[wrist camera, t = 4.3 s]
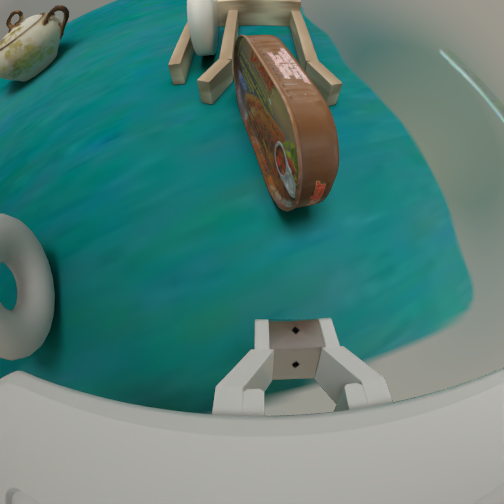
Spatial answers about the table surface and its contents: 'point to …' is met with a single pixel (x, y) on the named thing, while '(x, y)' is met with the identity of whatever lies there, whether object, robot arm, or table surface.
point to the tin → (285, 122)
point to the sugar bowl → (31, 44)
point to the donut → (25, 291)
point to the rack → (231, 16)
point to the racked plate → (203, 25)
